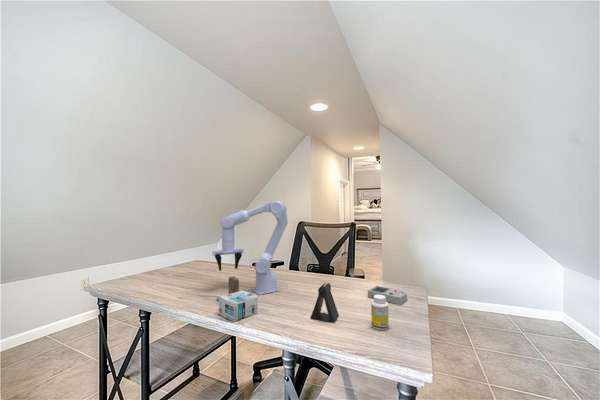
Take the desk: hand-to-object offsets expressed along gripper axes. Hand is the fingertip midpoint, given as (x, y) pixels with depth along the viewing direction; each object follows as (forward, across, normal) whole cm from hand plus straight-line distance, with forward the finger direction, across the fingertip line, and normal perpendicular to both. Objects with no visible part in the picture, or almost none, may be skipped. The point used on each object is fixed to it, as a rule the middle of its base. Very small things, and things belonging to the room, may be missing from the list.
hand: (228, 269), depth 128 cm
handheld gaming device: (+11, +60, -44) cm, 75 cm away
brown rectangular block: (+10, -1, -14) cm, 17 cm away
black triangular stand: (+11, +25, -48) cm, 55 cm away
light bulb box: (+7, +3, -28) cm, 29 cm away
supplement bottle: (+11, +37, -63) cm, 74 cm away
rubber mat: (+10, -1, -14) cm, 18 cm away
